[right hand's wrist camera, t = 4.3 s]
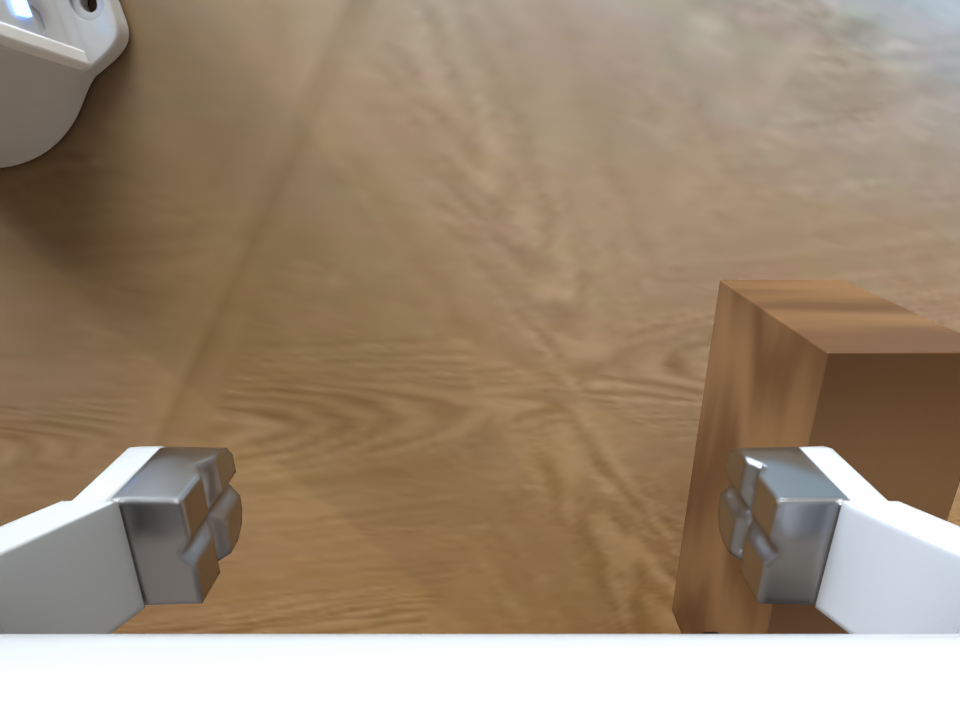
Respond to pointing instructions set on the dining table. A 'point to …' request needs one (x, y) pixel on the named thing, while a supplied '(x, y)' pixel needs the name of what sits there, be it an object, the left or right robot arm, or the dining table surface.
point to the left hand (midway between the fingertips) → (772, 644)
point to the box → (814, 423)
